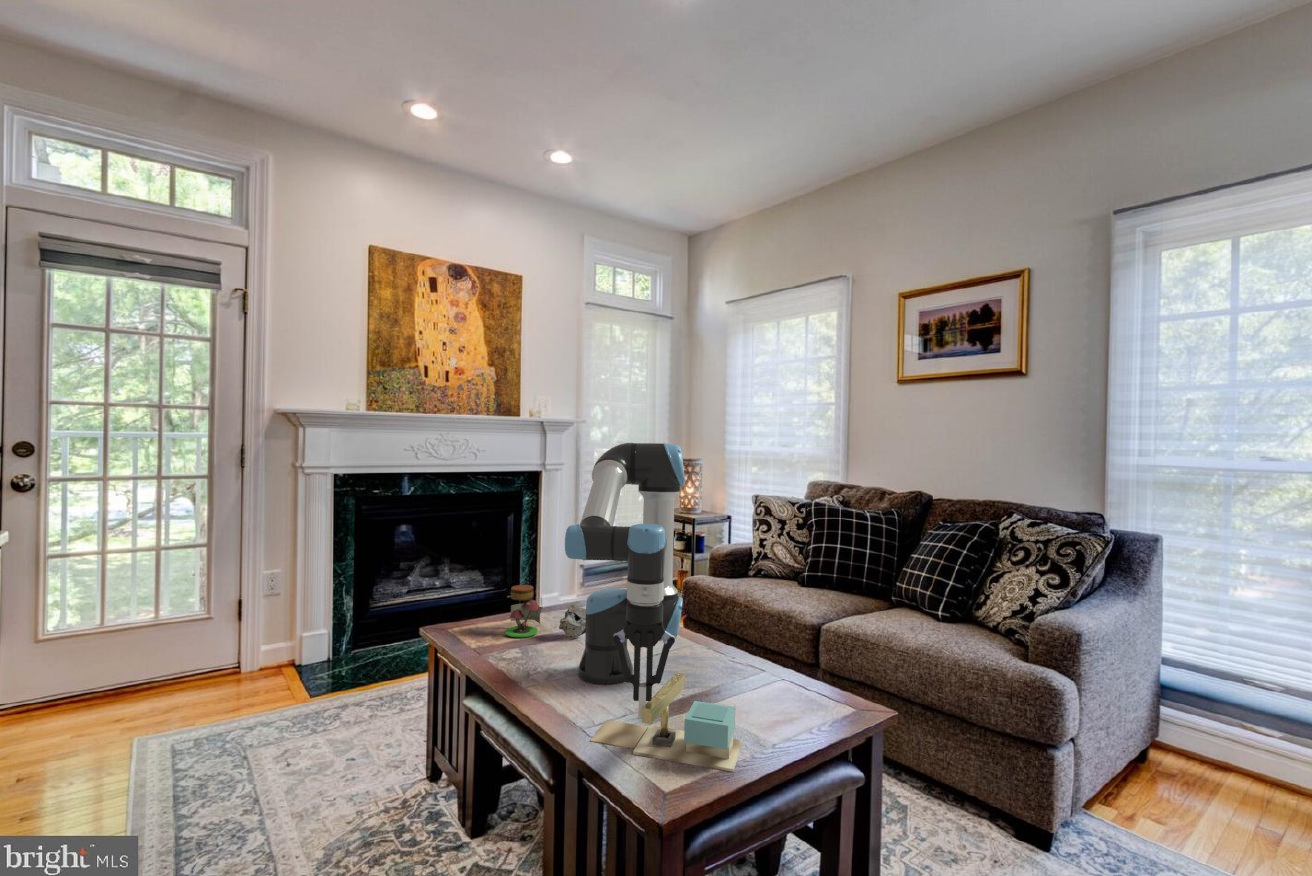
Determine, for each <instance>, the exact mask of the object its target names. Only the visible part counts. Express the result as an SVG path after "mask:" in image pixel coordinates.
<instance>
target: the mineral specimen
mask: <svg viewBox="0 0 1312 876" xmlns="http://www.w3.org/2000/svg"><path fill="white" fill-rule="evenodd" d="M585 611H586V608H584V607H580V606H579V607H578V606H577V605H574V604H570V605H569V606H568V608H567V610H566V611H565V613H564V617H562V618H561V619H560V620H559V626H558V629H559V630H561V631H564V634H565V635H566V636H567V635H569V636H570V637H571V638H573V639H575V638H579V637H580V636H582V635H584V634H586V614H585Z"/></svg>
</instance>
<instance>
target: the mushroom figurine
mask: <svg viewBox="0 0 1312 876" xmlns="http://www.w3.org/2000/svg"><path fill="white" fill-rule="evenodd" d="M510 599H511V600H513V601H514V600H515V601H526V602H525V603H516V604H512V605H510V616H509V618H510V622H516V625H515V626H511V627H508V628H506V629H505V631H504V634H505V635H506V636H507V637H511V638H527V637H531V636H534V635H536V634H537V633H538V628H537V627H536V626H533V625H529V624H528V622H527V621H528V620H529V621H530V620H531V621H532V620H533V621H535V622H537V623H538V624H539V625H540V623H541V622H540V621H541V612H542V610H543V609H544V607H542V606H539V605H538V602H537V601H536V600H534V586H533V585H530V584H529V585H528V584H518V585H517V584H516V585H513V586H511V588H510ZM521 621H522V622H521Z"/></svg>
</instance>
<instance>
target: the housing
mask: <svg viewBox="0 0 1312 876" xmlns="http://www.w3.org/2000/svg"><path fill="white" fill-rule="evenodd" d="M660 736H661V726H657V725H653V724H649V726H648V728H647V730H646V731H645V733H644V734H643V736H642V737H641V739H640V740H639V742H638V744H637V745H636V747H635V748H634V749H633V751H632V754H633V755H637V756H641V757H647V758H653V759H659V760H664V761H671V762H675V763H681V764H686V765H693V766H698V767H699V766H700V767H702V768H703V767H704V768H710V769H714V770H715V769H716V770H720V771H721V770H722V771H726V772H734V770H735V769H736V768H735V767H736V764H737V761H738V759H739V756H740V753H741V749H742V746H743V740H742V739H736V738H734V735H733V736H732V739H731V741H730V744H729V747H728V750H727V749H721V748H715V747H709V746H703V745H697V744H692V743H686V742H684V730H681V729H674V728H669V727H668V738H662V737H660Z"/></svg>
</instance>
